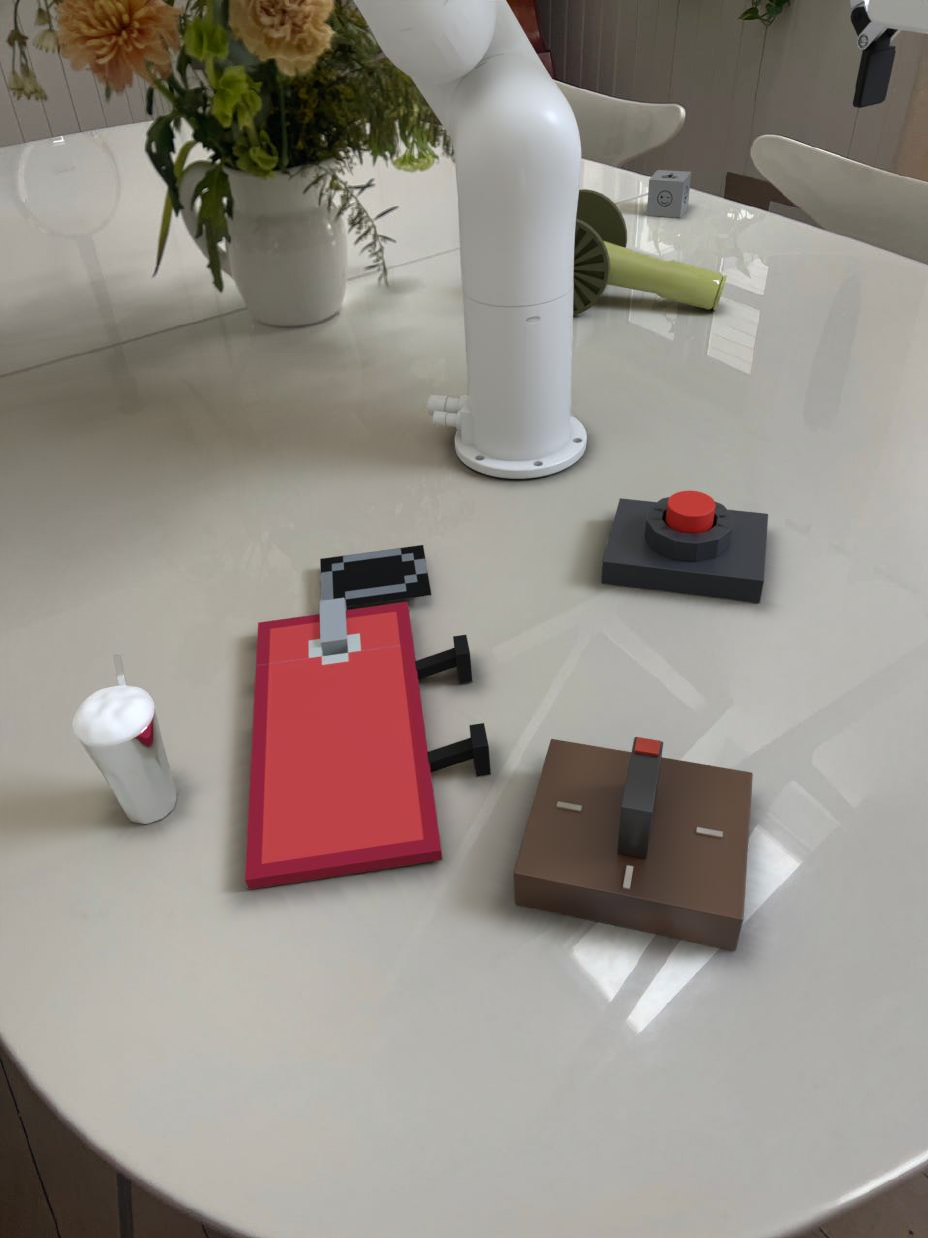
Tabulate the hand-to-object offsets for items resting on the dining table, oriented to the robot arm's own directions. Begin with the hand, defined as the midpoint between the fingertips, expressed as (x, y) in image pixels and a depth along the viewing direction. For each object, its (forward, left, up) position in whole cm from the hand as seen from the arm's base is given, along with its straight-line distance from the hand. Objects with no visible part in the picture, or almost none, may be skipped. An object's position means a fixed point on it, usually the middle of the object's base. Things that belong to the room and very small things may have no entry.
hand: (918, 115), depth 74 cm
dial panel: (-13, -55, -27) cm, 62 cm away
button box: (-13, -26, -27) cm, 39 cm away
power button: (-13, -26, -23) cm, 37 cm away
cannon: (-26, +25, -27) cm, 45 cm away
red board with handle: (-33, -46, -27) cm, 62 cm away
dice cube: (-24, +60, -27) cm, 70 cm away
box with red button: (-13, -55, -24) cm, 61 cm away
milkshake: (-43, -58, -27) cm, 77 cm away
